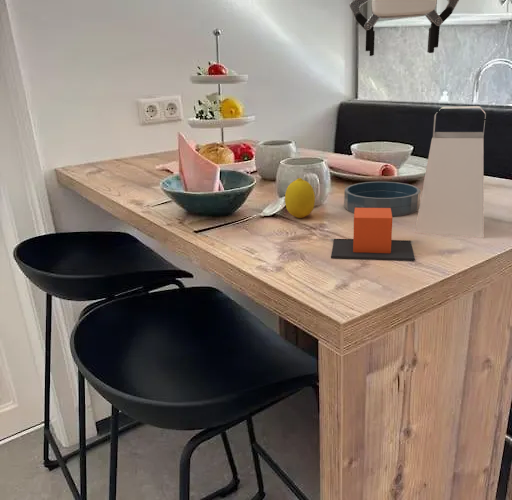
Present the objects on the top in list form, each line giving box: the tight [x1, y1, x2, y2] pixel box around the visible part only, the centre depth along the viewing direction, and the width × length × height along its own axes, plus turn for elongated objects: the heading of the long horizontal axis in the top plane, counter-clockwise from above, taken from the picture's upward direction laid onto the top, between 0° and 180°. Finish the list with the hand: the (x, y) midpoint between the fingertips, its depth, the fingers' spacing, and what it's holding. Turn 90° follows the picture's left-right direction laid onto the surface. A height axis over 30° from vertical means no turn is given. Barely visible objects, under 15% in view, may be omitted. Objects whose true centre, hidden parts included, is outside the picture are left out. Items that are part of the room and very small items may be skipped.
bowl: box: [343, 181, 422, 217], centre depth 98 cm, size 14×14×4 cm
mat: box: [330, 238, 416, 262], centre depth 77 cm, size 12×9×1 cm
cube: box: [352, 208, 394, 253], centre depth 76 cm, size 6×6×6 cm
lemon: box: [284, 177, 316, 219], centre depth 93 cm, size 6×6×8 cm
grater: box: [414, 105, 487, 239], centre depth 82 cm, size 10×10×20 cm
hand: (400, 54), depth 84 cm, fingers open, 9 cm apart
